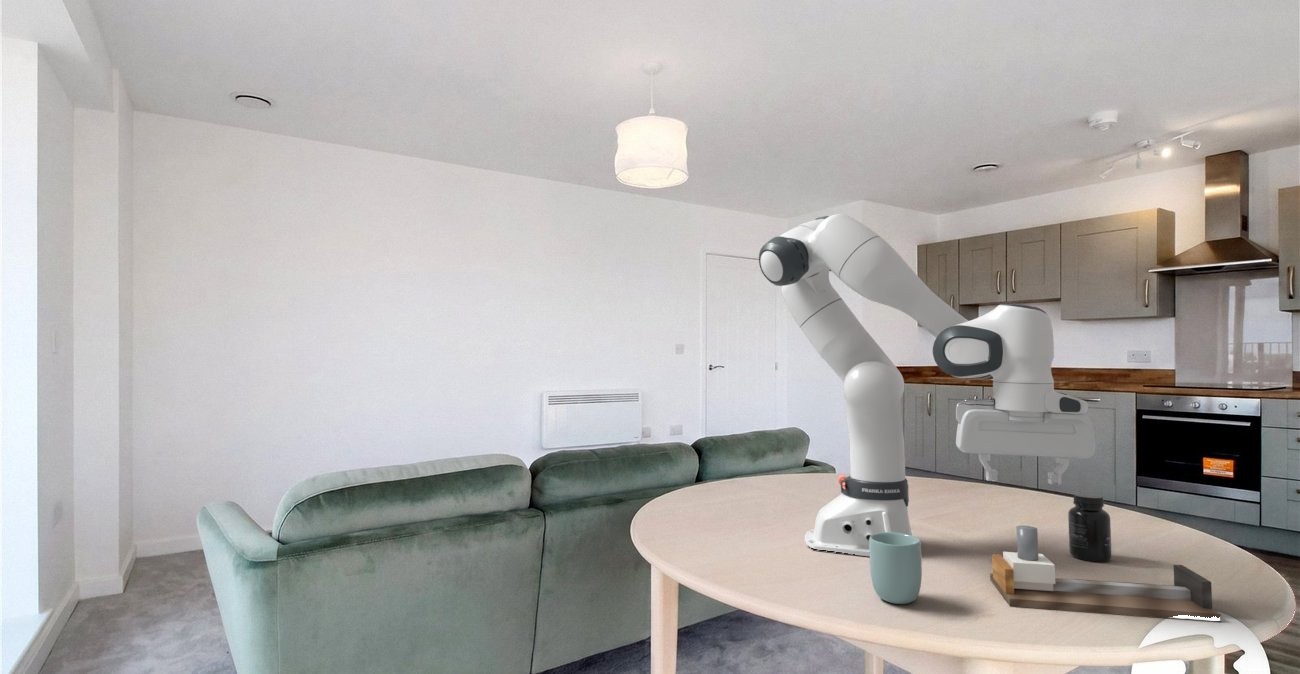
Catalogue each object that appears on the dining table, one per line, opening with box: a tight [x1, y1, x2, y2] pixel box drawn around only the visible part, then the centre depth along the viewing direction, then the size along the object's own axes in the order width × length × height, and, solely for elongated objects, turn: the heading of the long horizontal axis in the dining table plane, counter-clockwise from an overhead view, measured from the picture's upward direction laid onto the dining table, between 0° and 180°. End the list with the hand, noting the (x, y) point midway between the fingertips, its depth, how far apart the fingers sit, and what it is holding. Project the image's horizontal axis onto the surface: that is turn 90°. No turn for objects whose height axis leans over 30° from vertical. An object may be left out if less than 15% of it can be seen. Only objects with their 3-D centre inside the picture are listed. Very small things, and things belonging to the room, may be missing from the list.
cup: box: [869, 532, 923, 605], centre depth 104 cm, size 8×8×10 cm
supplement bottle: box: [1067, 493, 1113, 563], centre depth 124 cm, size 7×7×12 cm
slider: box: [1002, 525, 1056, 591], centre depth 105 cm, size 6×6×10 cm
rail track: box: [989, 553, 1222, 619], centre depth 103 cm, size 28×12×5 cm, turn 75°
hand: (1022, 482), depth 106 cm, fingers open, 8 cm apart
